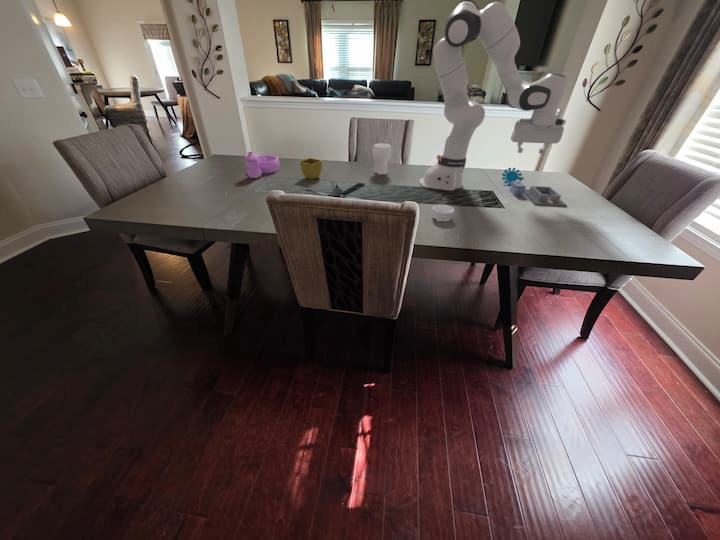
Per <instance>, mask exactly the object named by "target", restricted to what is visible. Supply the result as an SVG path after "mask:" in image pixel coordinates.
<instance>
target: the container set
mask: <svg viewBox="0 0 720 540" xmlns="http://www.w3.org/2000/svg"><path fill="white" fill-rule="evenodd" d="M244 160H245V162H244V163H245V166H246V167H247V171H246V174H247V176H248V177H249V178H250V179H252V178H257V179H259V178H258V177H260V178H261V176H262V175H263V174H262V173H269V174H273V173H272V172H274V173H277V172H279V171H280V170H281V166H280V160H279V156H277V155H272V154H262V155H261V154H260V155H256V154H254V152H253V151H248V152H247V154H246V155H245V156H244ZM279 169H280V170H279ZM278 170H279V171H278ZM276 171H277V172H276Z"/></svg>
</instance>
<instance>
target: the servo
mask: <svg viewBox="0 0 720 540" xmlns="http://www.w3.org/2000/svg"><path fill="white" fill-rule="evenodd" d="M526 187H527V186H526V185H525V184H524V183H523V182H522V180H521V181H520V180H516V181H512V182H511V185H510V186H509V189H508V191H509V192H510V193H511V195H512V196H514V197H515V196H516V197H523V195H524V191H526Z"/></svg>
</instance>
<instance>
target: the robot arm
mask: <svg viewBox="0 0 720 540" xmlns="http://www.w3.org/2000/svg"><path fill="white" fill-rule="evenodd" d="M518 31H519V30H518V29H517V26H516V24H515V22H514V20H513V18H512V16H511V14H510V13H509V11H508V10H507V8H506V7H505V5H503V3H502V2H500V1H493V2H491V3H489V4H487V5H486V6H485V7H484V8H483V9H479V6H478V4H477V3H476V2H475V1H474V0H462V1H460V2H458V3H457V4H456V6H455V7H454V8H453V9H452V10H451V12H450V14H449V16H448V19H447V20H446V22H445V25H444V37H443V38H441V39H440V40H438V42H437V43H436V44H435V45H434V47H433V51H432V56H433V61H434V67H435V71H436V75H437V79H438V81H439V84H440V87H441V88H440V89H441V91H442V95H443V102H444V110H443V114H444V117H445V119H446V121H448V122H449V123H450V124H453V127H452V129H451V131H450V134H449V135H448V136H447V137H446V139H445V144H444V149H443V153H442V154H443V155H441V154H437V156H436V160H437V163H435V164H434V165H432V166H431V167H428V168H427V170H426V172H425V173H424V176H422V177H420V178H419V185H420V186H421V187H423V188H427V189H435V190H441V191H442V190H444V191H455V190H456V189H461V188H462V187H463V176H464V175H463V173H464V169H465V167H466V163H467V154H468V153H467V152H468V149H469V147H470V146H469V145H470V141H471V139H472V138H473V135H474V133H475V131H476V129H477V128H479V126H481V125H482V123H483V122H484V119H485V117H486V115H485V114H486V112H485V108H484V107H483V106H482V105H481V104H480V103H479V102H478V101H475V100H470V98H469V95H468V85H469V83H470V81H469V76H468V72H467V68H466V64H465V61H464V57H463V53H462V47H463V46H465V45H467V44H469V43H471V42H473V41H475V40H477V39H479V41H480V42H481V44H482V46H483V47H484V48H483V49H484V50H485V52H486V54H487V55H488V58H489V59H490V60H491V62H492V64H493V65H494V66H495V68H496V71H497V72H498V74H499V77H500V79H501V81H502V84H503V86H504V89H505V90H504V91H505V100H506V101H505V102H506V104H507V106H508V107H510V108H511V109H518V110H521V111H525V112H530V111H532V113H531V116H530V118H521V119H518V120H517V121H516V122H515V124H514V129H513V132H512V133H511V137H510V140H511V142H513V143H517V148H518V149H517V153H519V154H522V153H523V150H524V149H523V148H522V145H523V144H524V143H527V144H529V143H531V144H543V145H544V146H543V147H541V148H539V150H538V154H541V155H542V154H544V153H545V151H546V150H547V149H548V148H549V147H550V145H551V144H558V143H559V142H560V141H561V140H562V137H563V134H564V131H565V128H564V126H565V124H566V123H567V121H566V119H564V118H562V117H560V116H558V115H557V113H558V108H559V105H560V103H561V101H562V100H563V96H564V94H565V90H566V87H567V81H568V78H567V77H566V76H565V75H564V74H559V73H553V72H551V73H547V74H546V75H545V76H544V77H542V78H540V79H538V80H536V81H534V82H527V81H526V80H524V79H523V78H522V77H521V74H520V72H519V70H518V68H517V65H516V62H515V56H516V55H517V53H518V51H519V49H520V46H521V45H520V44H521V39H520V33H519V32H518Z"/></svg>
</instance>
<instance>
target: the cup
mask: <svg viewBox="0 0 720 540" xmlns="http://www.w3.org/2000/svg"><path fill="white" fill-rule="evenodd" d="M392 151H393V150H392V146H391V144H389V143H382V142H381V143H374V144H373V147H372V158H373V161H374V162H375V163H374V164H375V166H374V172H375V173H378V174H377V175H379V174H384V175H387V174H388V163H389V160H390V159H391V156H392ZM374 172H373V173H374ZM375 173H374V174H375Z"/></svg>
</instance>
